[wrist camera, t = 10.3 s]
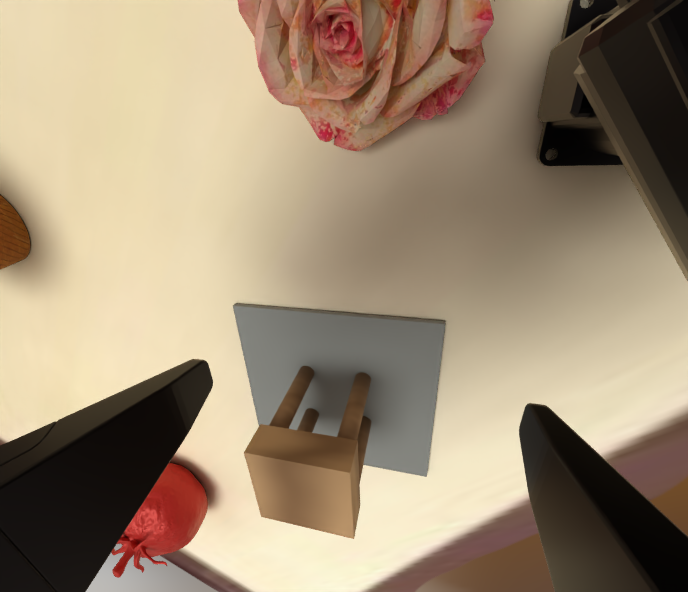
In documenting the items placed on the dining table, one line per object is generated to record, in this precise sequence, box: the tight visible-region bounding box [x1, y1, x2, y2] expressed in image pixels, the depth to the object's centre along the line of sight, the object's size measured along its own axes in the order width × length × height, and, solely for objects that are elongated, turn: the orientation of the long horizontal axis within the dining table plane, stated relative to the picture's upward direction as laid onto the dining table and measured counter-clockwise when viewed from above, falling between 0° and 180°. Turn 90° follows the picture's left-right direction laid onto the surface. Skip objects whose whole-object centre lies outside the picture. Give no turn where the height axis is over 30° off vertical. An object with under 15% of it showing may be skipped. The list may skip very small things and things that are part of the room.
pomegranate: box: [111, 463, 208, 577], centre depth 34 cm, size 10×10×9 cm
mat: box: [233, 303, 445, 477], centre depth 25 cm, size 15×15×1 cm
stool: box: [244, 366, 371, 539], centre depth 22 cm, size 6×6×8 cm
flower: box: [238, 0, 495, 151], centre depth 12 cm, size 10×9×8 cm
